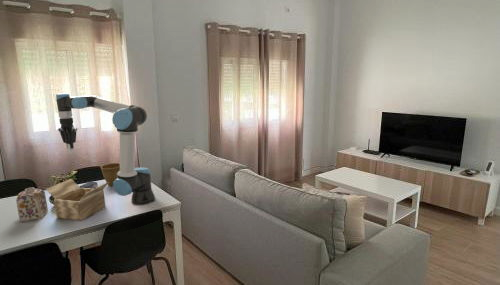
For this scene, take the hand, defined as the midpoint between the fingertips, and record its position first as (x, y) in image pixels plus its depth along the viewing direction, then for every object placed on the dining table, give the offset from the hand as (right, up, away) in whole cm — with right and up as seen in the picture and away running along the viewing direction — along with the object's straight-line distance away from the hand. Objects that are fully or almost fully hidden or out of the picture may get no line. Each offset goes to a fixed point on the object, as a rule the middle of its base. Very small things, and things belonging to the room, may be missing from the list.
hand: (71, 153), depth 200 cm
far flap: (+1, -21, -10) cm, 24 cm away
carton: (+13, -37, -10) cm, 40 cm away
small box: (+6, -32, +13) cm, 35 cm away
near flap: (+24, -22, -16) cm, 36 cm away
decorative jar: (-14, -38, -14) cm, 43 cm away
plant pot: (+11, -27, +38) cm, 48 cm away
